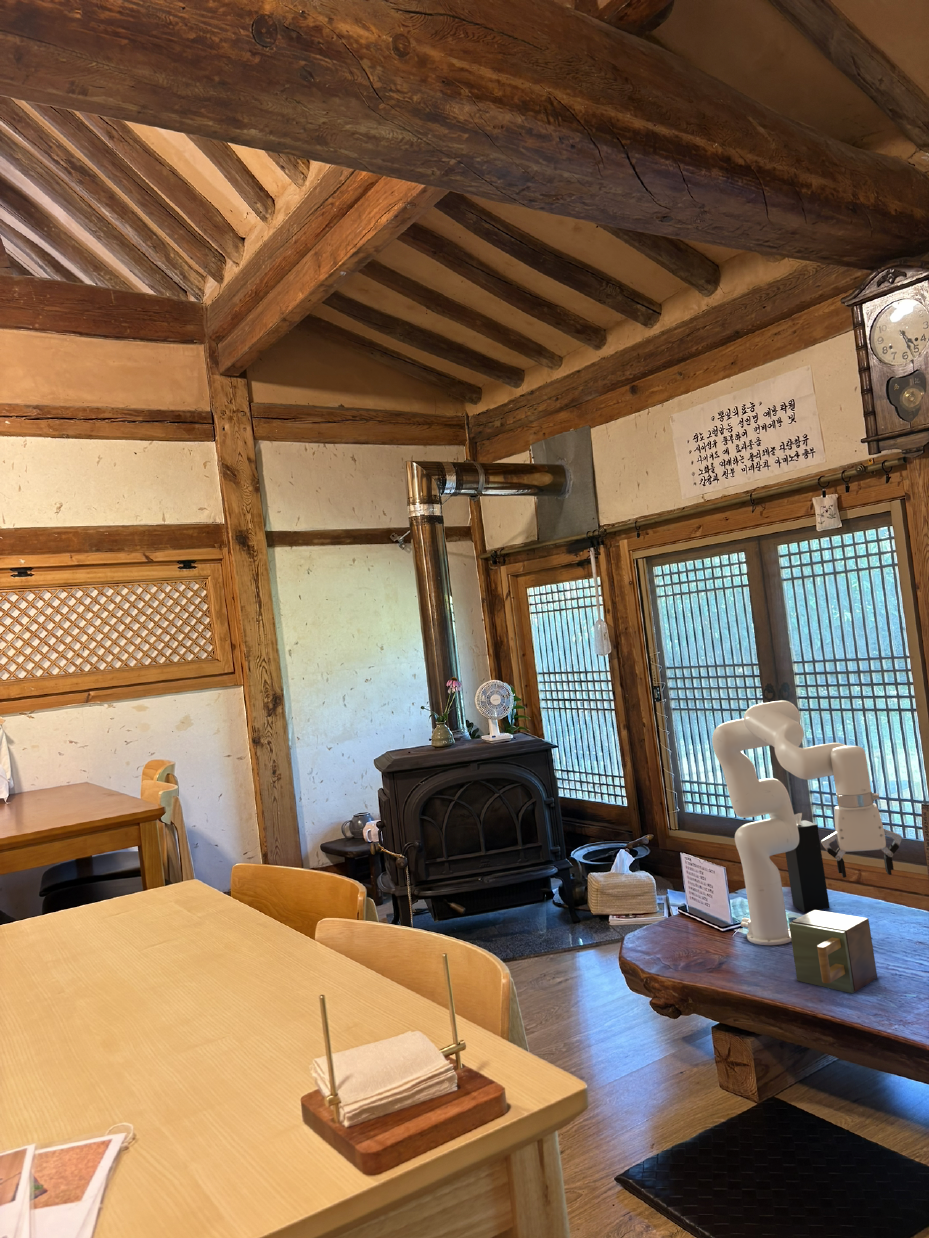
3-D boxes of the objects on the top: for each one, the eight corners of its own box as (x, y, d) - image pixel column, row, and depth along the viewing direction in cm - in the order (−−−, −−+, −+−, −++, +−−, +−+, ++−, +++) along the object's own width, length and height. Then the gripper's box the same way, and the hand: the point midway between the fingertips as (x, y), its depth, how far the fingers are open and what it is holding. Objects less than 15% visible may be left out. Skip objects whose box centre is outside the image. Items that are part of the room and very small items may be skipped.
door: (835, 1004, 199) (826, 942, 200) (780, 990, 210) (771, 931, 211) (854, 992, 204) (845, 931, 204) (799, 979, 215) (791, 922, 215)
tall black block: (792, 905, 270) (779, 813, 271) (817, 901, 271) (803, 809, 272) (804, 913, 262) (790, 817, 263) (830, 908, 263) (816, 813, 264)
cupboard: (855, 992, 204) (846, 930, 205) (800, 979, 215) (791, 921, 216) (877, 978, 210) (868, 918, 211) (822, 966, 221) (814, 909, 222)
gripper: (892, 794, 208) (903, 868, 207) (813, 800, 213) (824, 872, 212) (898, 800, 201) (910, 876, 200) (817, 806, 205) (828, 881, 205)
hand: (866, 874), depth 206 cm, fingers open, 9 cm apart
